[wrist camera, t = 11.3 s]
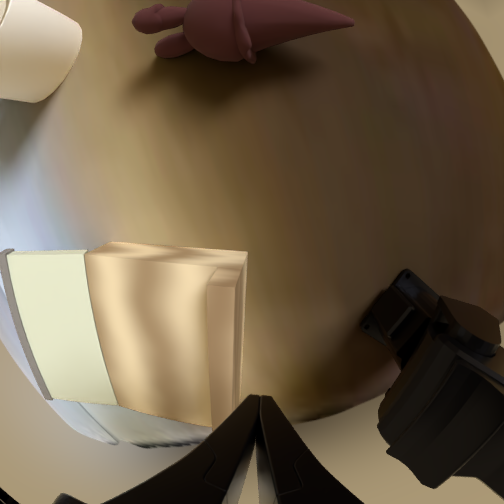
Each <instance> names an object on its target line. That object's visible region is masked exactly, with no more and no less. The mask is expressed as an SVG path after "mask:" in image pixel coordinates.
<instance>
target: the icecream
mask: <svg viewBox="0 0 504 504" xmlns="http://www.w3.org/2000/svg"><path fill="white" fill-rule="evenodd" d="M354 23H355V22H354V19H352V18H349V17H347V16H345V15H342V14H340V13H337V12H335V11H332V10H329V9H326V8H324V7H321V6H318V5H315V4H311V3H308V2H305V1H302V0H192V1H191V2H190V3H189V5H188V6H187V8H182V7H173V6H170V7H164V6H163V5H162V4H156V5H153V6H152V7H150V8H146V9H142V10H140V11H139V12H137V13H136V14H135V16H134V18H133V20H132V24H133V26H134V27H135V29H136V30H138V31H139V32H142V33H144V34H153V33H157V32H160V31H162V30H167V29H171V28H175V27H178V26H180V25H182V24H183V31H184V32H181V33H177V34H173V35H169V36H167V37H165V38H164V39H162V40H160V41H158V43H157V44H156V46H155V53H156V55H157V56H159V57H162V58H172V57H178V56H180V55H182V54H185V53H187V52H190V51H191V50H193V49H194V48H195V49H196V50H197V51H199V52H200V53H202V54H204V55H205V56H207V57H209V58H213V59H216V60H219V61H232V62H238V61H240V60H242V59H244V58H245V59H246V60H247V61H248V62H250V63H251V64H254V63H255V62H256V61H257V57H256V52H257V51H259V50H262V49H265V48H268V47H271V46H274V45H277V44H280V43H284V42H287V41H290V40H294V39H297V38H301V37H305V36H309V35H312V34H317V33H321V32H325V31H330V30H336V29H341V28H347V27H352V26H354Z"/></svg>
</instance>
